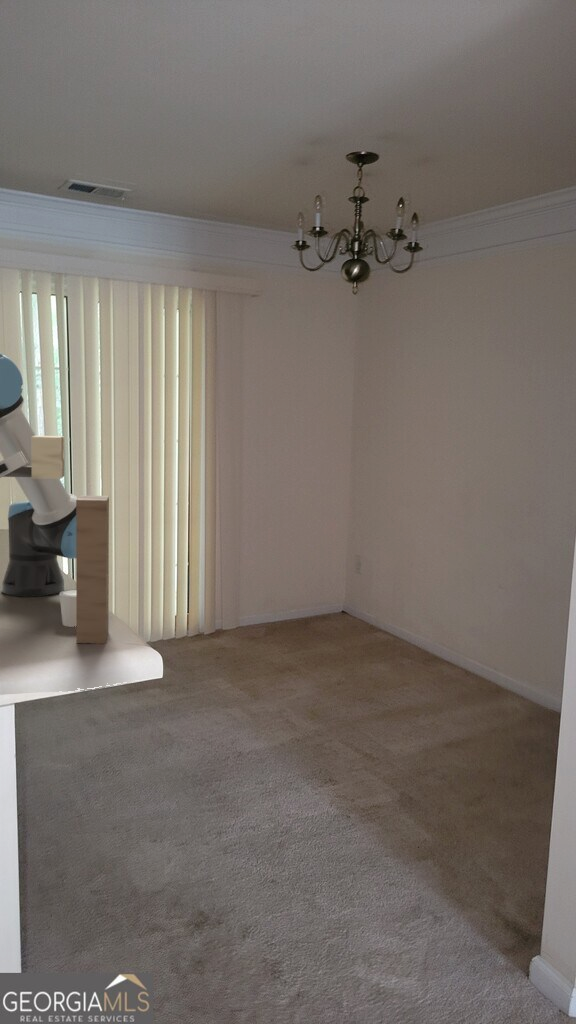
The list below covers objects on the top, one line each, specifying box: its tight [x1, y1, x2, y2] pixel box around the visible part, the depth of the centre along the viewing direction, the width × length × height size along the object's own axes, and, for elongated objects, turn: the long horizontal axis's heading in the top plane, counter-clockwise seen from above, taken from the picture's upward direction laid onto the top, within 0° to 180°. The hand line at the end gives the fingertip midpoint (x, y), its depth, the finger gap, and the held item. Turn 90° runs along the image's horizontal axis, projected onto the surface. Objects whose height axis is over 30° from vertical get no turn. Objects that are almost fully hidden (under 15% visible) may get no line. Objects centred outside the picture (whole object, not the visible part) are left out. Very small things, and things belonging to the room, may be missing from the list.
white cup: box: [59, 588, 77, 628], centre depth 168 cm, size 7×7×7 cm
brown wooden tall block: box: [75, 494, 110, 644], centre depth 156 cm, size 8×6×29 cm
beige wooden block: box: [2, 435, 65, 480], centre depth 151 cm, size 7×14×8 cm, turn 100°
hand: (23, 457), depth 151 cm, fingers closed on beige wooden block, 2 cm apart
